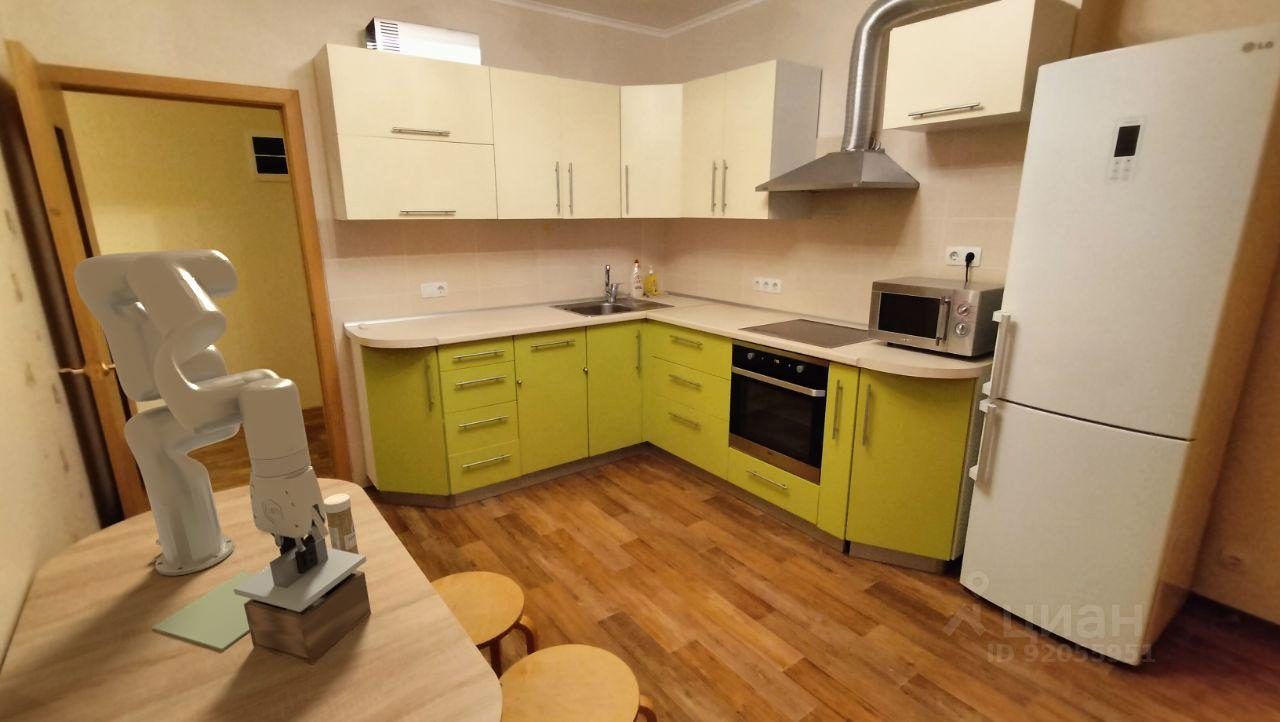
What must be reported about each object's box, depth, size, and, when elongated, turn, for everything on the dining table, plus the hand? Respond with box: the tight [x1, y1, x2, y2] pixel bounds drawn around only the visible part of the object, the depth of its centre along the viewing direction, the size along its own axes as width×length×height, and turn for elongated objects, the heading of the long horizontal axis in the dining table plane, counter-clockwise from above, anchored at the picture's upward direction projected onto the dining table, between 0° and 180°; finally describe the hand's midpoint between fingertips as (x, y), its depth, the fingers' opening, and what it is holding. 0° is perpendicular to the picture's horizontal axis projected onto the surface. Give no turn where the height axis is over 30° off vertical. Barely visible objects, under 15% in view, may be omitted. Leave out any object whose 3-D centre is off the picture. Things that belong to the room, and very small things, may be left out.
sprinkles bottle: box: [323, 493, 360, 555], centre depth 112 cm, size 5×5×13 cm
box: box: [244, 569, 372, 665], centre depth 94 cm, size 12×12×8 cm
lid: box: [233, 537, 367, 612], centre depth 92 cm, size 13×13×6 cm
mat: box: [151, 570, 256, 651], centre depth 101 cm, size 16×16×1 cm
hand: (301, 566), depth 92 cm, fingers closed on lid
